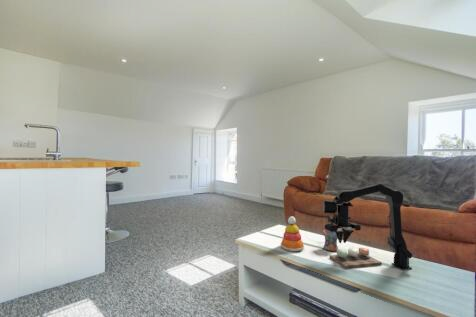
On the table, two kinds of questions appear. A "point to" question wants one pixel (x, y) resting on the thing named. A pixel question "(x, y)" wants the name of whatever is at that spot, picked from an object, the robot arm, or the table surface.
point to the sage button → (342, 253)
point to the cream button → (352, 252)
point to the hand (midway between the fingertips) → (342, 242)
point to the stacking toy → (292, 237)
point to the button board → (355, 261)
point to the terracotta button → (363, 251)
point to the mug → (330, 240)
